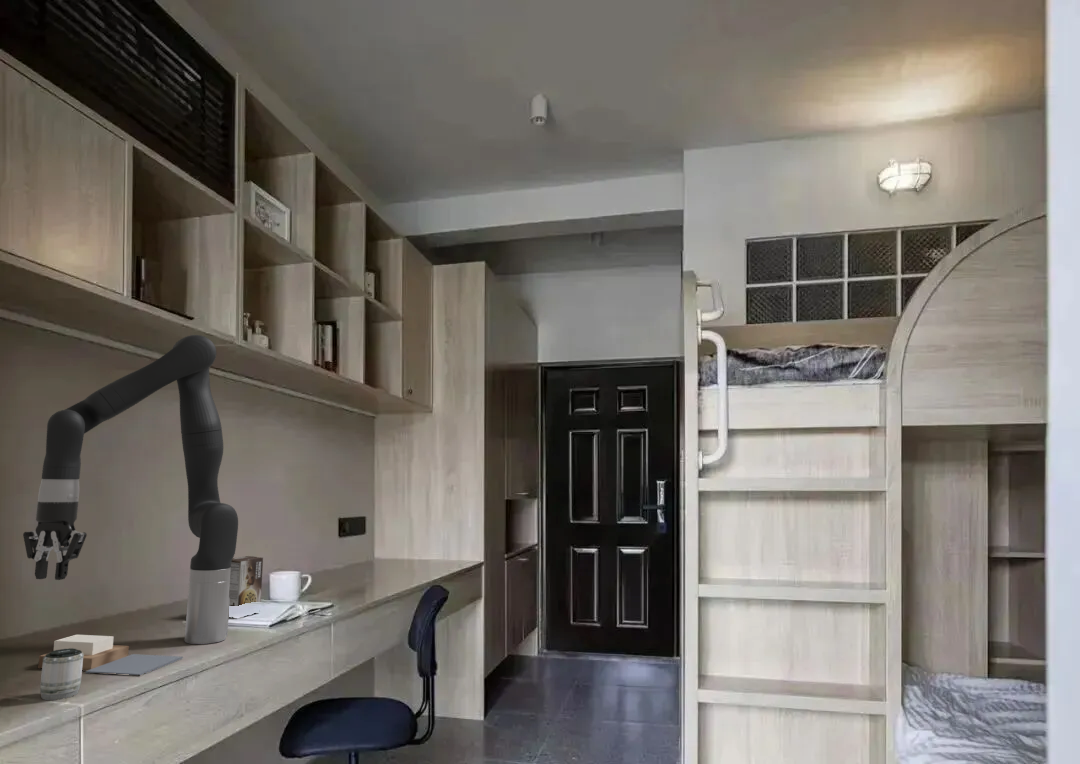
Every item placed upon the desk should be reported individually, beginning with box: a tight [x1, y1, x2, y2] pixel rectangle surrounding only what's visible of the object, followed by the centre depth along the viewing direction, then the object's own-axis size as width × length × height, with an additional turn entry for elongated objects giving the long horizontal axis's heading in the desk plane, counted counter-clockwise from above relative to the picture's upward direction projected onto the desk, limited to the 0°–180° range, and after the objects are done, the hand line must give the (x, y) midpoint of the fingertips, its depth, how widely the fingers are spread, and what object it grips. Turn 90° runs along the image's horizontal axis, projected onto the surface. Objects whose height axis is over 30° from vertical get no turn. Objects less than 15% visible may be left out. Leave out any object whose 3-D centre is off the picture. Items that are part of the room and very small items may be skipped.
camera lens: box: [39, 648, 84, 701], centre depth 130 cm, size 6×6×8 cm
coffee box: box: [229, 555, 264, 606], centre depth 205 cm, size 9×6×16 cm
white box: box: [53, 634, 115, 655], centre depth 152 cm, size 6×9×2 cm, turn 83°
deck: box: [37, 644, 130, 670], centre depth 152 cm, size 11×12×2 cm
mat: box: [84, 653, 184, 676], centre depth 150 cm, size 14×12×1 cm
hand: (50, 578), depth 155 cm, fingers open, 4 cm apart
